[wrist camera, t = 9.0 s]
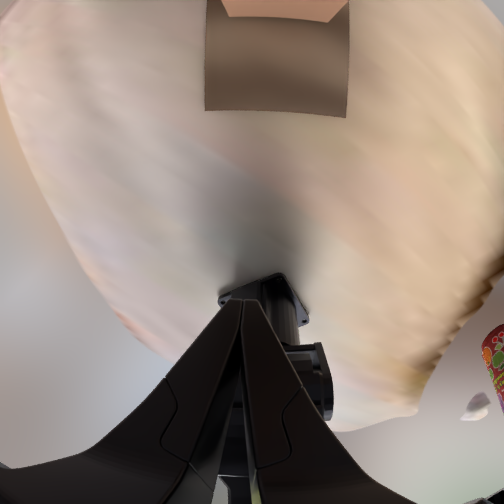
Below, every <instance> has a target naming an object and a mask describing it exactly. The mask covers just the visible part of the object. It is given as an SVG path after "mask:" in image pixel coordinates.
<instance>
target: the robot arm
mask: <svg viewBox="0 0 504 504" xmlns="http://www.w3.org/2000/svg"><path fill="white" fill-rule="evenodd" d="M278 278H281V280H277V279H278ZM222 301H225V302H222ZM218 304H219V306H220V307H221V309H220V310H219V311H218V313H217V314H216V315H215V316H214V318H213V319H212V320H211V321H210V322H209V324H208V325H207V326H206V327H205V329H204V330H203V331H202V332H201V333H200V335H199V336H198V337H197V338H196V339H195V341H194V342H193V343H192V344H191V346H190V347H189V348H188V349H187V350H186V352H185V353H184V354H183V355H182V356H181V358H180V359H179V360H178V361H177V362H176V364H175V365H174V366H173V367H172V368H171V370H170V371H169V372H168V373H167V375H166V376H165V377H166V378H163V379H162V380H161V382H160V383H159V384H158V385H157V387H156V388H155V389H154V390H153V391H152V392H151V393H150V394H149V395H148V397H147V398H146V399H145V400H144V401H143V402H142V403H141V404H140V405H139V406H138V407H137V408H136V409H135V410H134V411H133V412H131V413H130V414H129V415H128V416H127V417H126V418H125V419H124V420H123V421H122V422H120V423H119V424H118V425H117V426H116V427H115V428H114V429H113V430H111V431H110V432H109V433H108V434H107V435H106V436H105V437H103V439H101V440H100V441H99V442H98V443H96V444H95V445H94V446H92V447H91V448H89V449H87V450H85V451H84V452H81V453H79V454H76V455H73V456H69V457H66V458H62V459H58V460H54V461H50V462H46V463H42V464H38V465H33V466H28V467H23V468H16V469H11V468H9V467H7V466H6V465H4V464H2V463H1V462H0V504H211V502H212V498H213V492H214V489H215V484H216V480H217V476H218V477H219V478H220V479H221V480H222V482H223V483H224V484H225V485H226V487H227V488H228V504H416V503H415V502H413V501H411V500H409V499H407V498H405V497H403V496H401V495H399V494H397V493H396V492H394V491H392V490H390V489H388V488H387V487H385V486H383V485H381V484H380V483H378V482H376V481H375V480H374V479H372V478H371V477H370V476H369V475H367V474H366V473H365V472H364V471H363V470H362V469H361V467H360V466H359V465H358V464H357V463H356V462H355V460H354V459H353V458H352V457H351V455H350V454H349V453H348V452H347V450H346V449H345V448H344V446H343V445H342V444H341V443H340V441H339V440H338V439H337V438H336V436H335V435H334V433H333V432H332V431H331V430H330V428H329V427H328V425H327V424H326V423H325V421H329V420H331V418H332V414H333V405H334V394H333V382H332V377H331V373H330V369H329V366H328V363H327V360H326V356H325V353H324V350H323V347H322V344H321V342H317V343H314V344H306V345H300V340H299V330H298V327H301V326H303V325H306V324H308V323H309V316H308V315H307V313H306V311H305V309H304V308H303V306H302V304H301V303H300V301H299V299H298V297H297V296H296V294H295V292H294V291H293V289H292V287H291V285H290V284H289V282H288V280H287V279H286V277H285V275H284V274H282V273H276V274H274V275H271V276H269V277H266V278H264V279H262V280H259V281H255V282H252V283H250V284H247V285H245V286H242V287H240V288H237V289H235V290H233V291H232V292H229V293H227V294H224V295H222V296H220V297H219V298H218ZM304 319H305V320H304ZM464 504H504V488H503V489H501V490H499V491H497V492H496V493H494V494H492V495H490V496H489V497H487V498H478V499H475V500H472V501H470V502H467V503H464Z"/></svg>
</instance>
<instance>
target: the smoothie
mask: <svg viewBox="0 0 504 504" xmlns="http://www.w3.org/2000/svg"><path fill="white" fill-rule="evenodd" d="M482 351H483V352H482V357H483V359H484V361H485V364H486V366H487V369H488V371H489V373H490V376H491V379H492V381H493V384H494V387H495V390H496V392H497V395H498V398H499V401H500V404H501V407H502V410H503V414H504V324H502V325H499V326H498V327H496V328H495V329H494V330H493V331H491V332H490V333H489V334H488V336H487V337H486V338H485V340H484V341H483V343H482Z"/></svg>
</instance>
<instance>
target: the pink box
mask: <svg viewBox="0 0 504 504" xmlns="http://www.w3.org/2000/svg"><path fill="white" fill-rule="evenodd" d="M221 1H222V3H223V5H224V7H225V9H226V11H227V13H228V15H229V17H281V18H294V19H304V20H312V21H320V22H327V23H328V22H329V21H330V20H331V19H332V18H333V17H334V16H335V15H336V13H337V12H338V11H339V10H340V9H341V8H342V7H343V6H344V5H345V4H346V3H347V2H348V1H349V0H221Z"/></svg>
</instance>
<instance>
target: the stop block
mask: <svg viewBox="0 0 504 504" xmlns="http://www.w3.org/2000/svg"><path fill="white" fill-rule="evenodd" d="M348 73H349V1H348V2H347V3H346V4H345V5H344V6H343V7H342V8H341V9H340V10H339V11H338V12H337V13H336V15H335V16H334V17H333V18H332V19H331V20H330V21H329V22H328V23H327V22H320V21H312V20H304V19H294V18H281V17H229V15H228V13H227V11H226V9H225V7H224V5H223V3H222V1H221V0H207V12H206V39H205V111H216V110H256V111H280V112H295V113H307V114H317V115H326V116H334V117H341V118H346V107H347V92H348Z"/></svg>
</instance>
